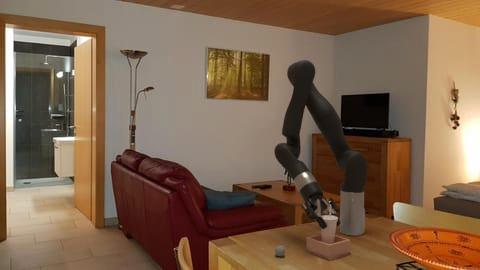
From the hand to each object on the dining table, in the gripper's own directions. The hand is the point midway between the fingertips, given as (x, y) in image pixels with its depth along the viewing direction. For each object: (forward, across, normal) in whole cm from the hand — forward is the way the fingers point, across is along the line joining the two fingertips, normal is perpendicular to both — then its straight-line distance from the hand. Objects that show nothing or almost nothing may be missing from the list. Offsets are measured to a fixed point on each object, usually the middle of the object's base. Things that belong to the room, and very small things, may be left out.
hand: (331, 226), depth 136 cm
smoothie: (+4, 0, +6) cm, 7 cm away
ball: (+1, -16, +13) cm, 21 cm away
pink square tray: (+6, 0, +8) cm, 10 cm away
